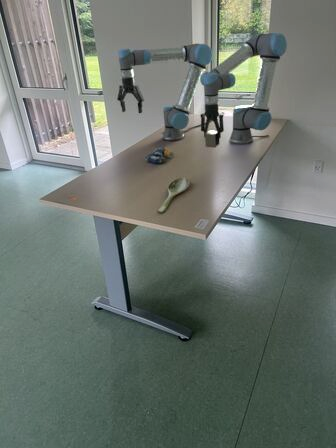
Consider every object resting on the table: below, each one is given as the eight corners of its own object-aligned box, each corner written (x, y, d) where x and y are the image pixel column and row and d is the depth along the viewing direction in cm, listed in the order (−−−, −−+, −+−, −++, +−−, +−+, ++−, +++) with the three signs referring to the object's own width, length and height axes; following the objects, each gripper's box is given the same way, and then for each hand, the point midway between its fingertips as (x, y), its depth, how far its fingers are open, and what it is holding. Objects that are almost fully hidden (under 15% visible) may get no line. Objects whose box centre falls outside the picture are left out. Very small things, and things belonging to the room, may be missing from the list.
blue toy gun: (178, 153, 218) (158, 152, 224) (177, 147, 215) (157, 146, 222) (164, 166, 202) (142, 164, 209) (163, 159, 200) (141, 157, 206)
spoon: (171, 216, 152) (170, 213, 151) (149, 214, 155) (149, 210, 154) (193, 181, 178) (193, 177, 177) (174, 179, 182) (174, 176, 180)
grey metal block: (205, 146, 200) (205, 133, 195) (210, 143, 204) (209, 130, 200) (215, 147, 197) (214, 134, 192) (219, 144, 201) (219, 130, 197)
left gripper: (108, 78, 211) (113, 112, 222) (140, 78, 198) (144, 114, 209) (116, 76, 216) (121, 109, 227) (147, 76, 203) (151, 112, 214)
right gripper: (193, 104, 189) (195, 143, 202) (224, 105, 180) (225, 146, 192) (199, 101, 195) (200, 139, 207) (230, 102, 185) (229, 142, 198)
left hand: (132, 112), depth 218 cm, fingers open, 13 cm apart
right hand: (212, 143), depth 200 cm, fingers closed on grey metal block, 6 cm apart
